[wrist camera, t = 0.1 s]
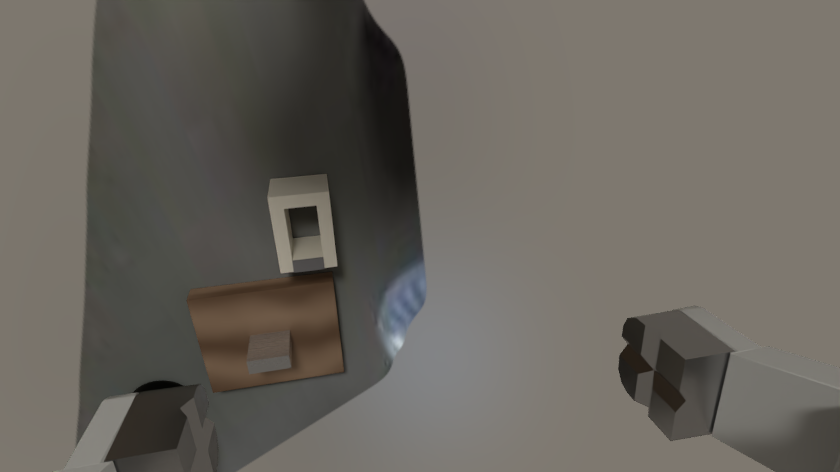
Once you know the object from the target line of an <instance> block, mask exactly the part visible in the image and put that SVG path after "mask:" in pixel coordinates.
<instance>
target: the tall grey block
mask: <svg viewBox="0 0 840 472" xmlns="http://www.w3.org/2000/svg"><path fill="white" fill-rule="evenodd" d="M246 362H247V366H248V371H249V374H255V373H261V372H268V371H274V370H281V369H287V368H291V362H292V339H291V334H290V330H287V331H280V332H273V333H265V334H258V335H251V336H250V340H249V347H248V354H247V361H246Z"/></svg>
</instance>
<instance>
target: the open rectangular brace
mask: <svg viewBox="0 0 840 472" xmlns="http://www.w3.org/2000/svg"><path fill="white" fill-rule="evenodd" d="M267 199H268V204H269V210H270V215H271V221H272V227H273V232H274V238H275V244H276V249H277V255H278V261H279V266H280V272H281V273H288V272H294V273H297V272H305V271H313V270H321V269H325V268H329V267H337V257H336V249H335V240H334V231H333V223H332V214H331V205H330V196H329V188H328V180H327V174H318V175H307V176H296V177H286V178H275V179H270V184H269V190H268V197H267ZM308 206H317V213H318V221H319V228H320V235H317V236H308V237H299V238H293V235H292V229H291V222H290V216H289V210H288V208H298V207H308Z"/></svg>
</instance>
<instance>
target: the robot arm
mask: <svg viewBox="0 0 840 472" xmlns="http://www.w3.org/2000/svg"><path fill="white" fill-rule="evenodd" d="M622 337H623V338H624V340H625V341H626V342H627V346H626V347H625V349H624V350H623V351H622V352H621V354H620V356H619V368H618V369H619V373H620V378H621V382H622V384H623V386H624V388H625V389H626V391H627V393H628V394H629V395H630V396H631V397H632V399H633V400H634V401H636V402H638V403H640V404H643V405H645V406H647V407H648V408H649V409H648V417H649V418H650V419H651V420H652V421H653V422H654V423H655V424H656V425H657V427H658V428H659V429H660V430H661V431H662V432H663V433H664V434H665V435H666V437H667V438H668V439H669V440H670V441H673V440H679V439H685V438H691V437H697V436H702V435H708V434H712V436H713V437H714V438H716V439H718V440H720V441H721V442H723V443H725V444H727V445H729V446H730V447H732V448H734V449H736V450H737V451H739V452H741V453H743V454H745V455H746V456H748V457H750V458H752V459H754V460H755V461H757V462H759V463H761V464H762V465H764V466H766V467H768V468H770V469H771V470H773V471H775V472H840V367H836V366H833V365H830V364H826V363H823V362H820V361H816V360H813V359H810V358H806V357H803V356H800V355H796V354H793V353H789V352H786V351H783V350H779V349H776V348H773V347H769V346H767V347H760V346H759V345H757V344H756V343H754V342H753V341H752V340H750V339H749V338H747V337H746V336H744V335H743V334H741V333H740V332H738V331H737V330H735V329H734V328H732V327H731V326H729V325H728V324H726V323H725V322H724V321H722V320H721V319H719V318H718V317H716V316H715V315H713V314H712V313H710V312H709V311H707V310H706V309H705V308H702V307H698V306H691V307H685V308H681V309H675V310H672V311H667V312H661V313H656V314H649V315H643V316H637V317H631V318H627V320H626V322H625V324H624V326H623V333H622ZM208 405H209V401H208V397H207V394H206V390H205V388H204V387H203V386H202V385H201V384H196V385H188V386H181V387H174V388H166V389H159V390H151V391H144V392H140V393H137V392H136V393H130V394H124V395H117V396H111V397H108V398H107V399H105V400H103V401H102V403H101V405H100V406H99V408H98V410H97V411H96V413H95V415H94V417H93V418H92V420H91V422H90V424H89V425H88V427H87V429H86V431H85V432H84V434H83V436H82V438H81V439H80V441H79V443H78V445H77V446H76V448H75V450H74V452H73V453H72V455H71V457H70V459H69V460H68V462H67V464H66V465H65V467H64V469H63V470H59V471H53V472H216V471H217V466H218V441H217V433H216V429H215V425H214V423H213V422H212V421H210V420H209V419H208V418H206V413H207V409H208Z"/></svg>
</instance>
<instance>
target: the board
mask: <svg viewBox="0 0 840 472" xmlns="http://www.w3.org/2000/svg"><path fill="white" fill-rule="evenodd" d="M187 304H188V307H189V310H190V314H191V317H192V321H193V324H194V328H195V331H196V335H197V338H198V342H199V345H200V349H201V352H202V356H203V359H204V362H205V366H206V369H207V373H208V376H209V380H210V383H211V387H212V390H213V393H214V392H221V391H227V390H233V389H240V388H246V387H252V386H258V385H265V384H271V383H277V382H284V381H290V380H296V379H302V378H309V377H315V376H321V375H328V374H334V373H340V372H344V366H343V357H342V349H341V341H340V332H339V324H338V316H337V308H336V299H335V291H334V283H333V275H332V272H325V273H317V274H309V275H301V276H293V277H285V278H277V279H269V280H261V281H253V282H245V283H237V284H229V285H221V286H213V287H205V288H197V289H191V290H190V292H189V295H188V298H187ZM287 330H290V334H291V339H292V362H291V368H287V369H281V370H274V371H268V372H261V373H255V374H249V371H248V366H247V362H246V361H247V354H248V347H249V340H250V336H251V335H258V334H265V333H273V332H280V331H287Z"/></svg>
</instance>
